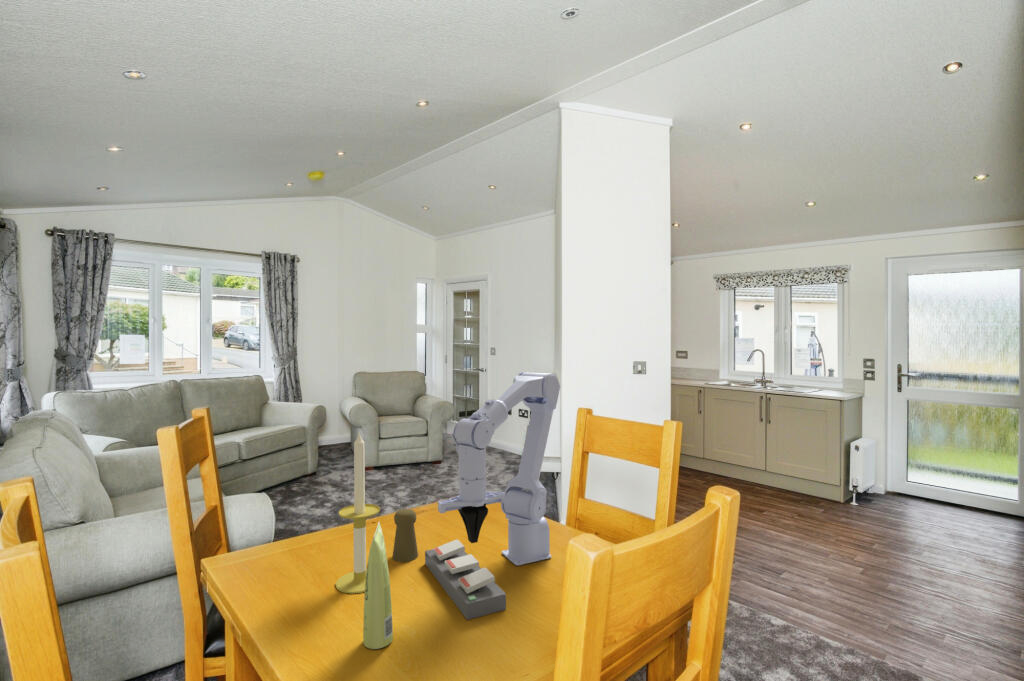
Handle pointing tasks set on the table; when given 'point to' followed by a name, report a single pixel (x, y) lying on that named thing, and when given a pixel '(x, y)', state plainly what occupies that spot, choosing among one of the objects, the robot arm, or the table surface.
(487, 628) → the table surface
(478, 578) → the rocker
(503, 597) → the strip
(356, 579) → the candle
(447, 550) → the rocker
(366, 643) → the tube
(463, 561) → the rocker
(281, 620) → the table surface
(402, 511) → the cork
